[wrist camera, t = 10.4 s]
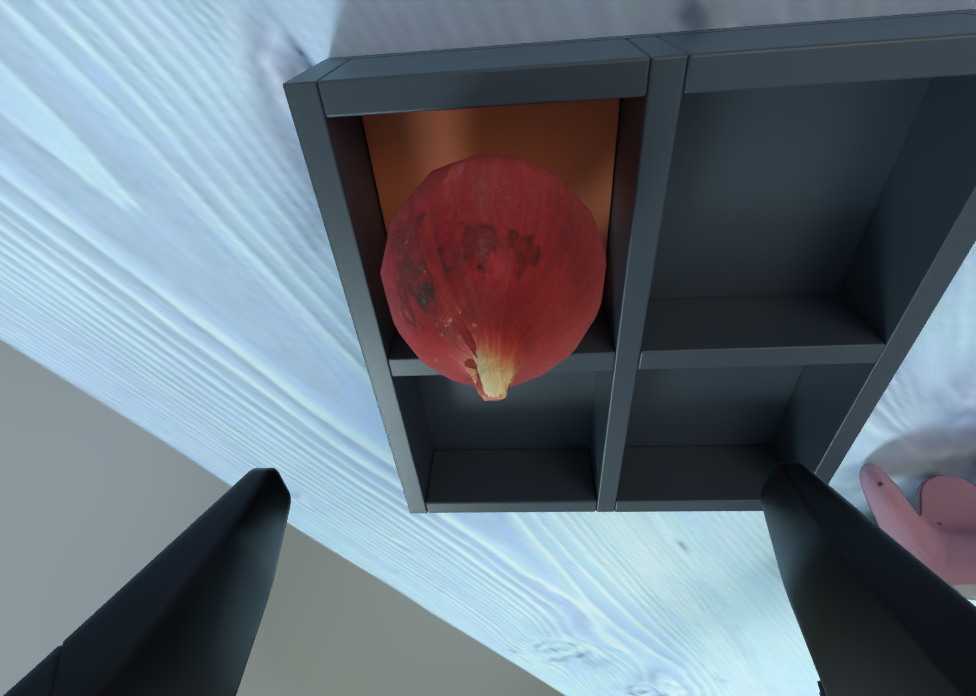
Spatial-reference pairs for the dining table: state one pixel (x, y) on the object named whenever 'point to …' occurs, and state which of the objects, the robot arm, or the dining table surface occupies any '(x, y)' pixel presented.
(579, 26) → the dining table surface
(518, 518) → the dining table surface
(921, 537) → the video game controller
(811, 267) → the grid
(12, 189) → the dining table surface
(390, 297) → the onion
